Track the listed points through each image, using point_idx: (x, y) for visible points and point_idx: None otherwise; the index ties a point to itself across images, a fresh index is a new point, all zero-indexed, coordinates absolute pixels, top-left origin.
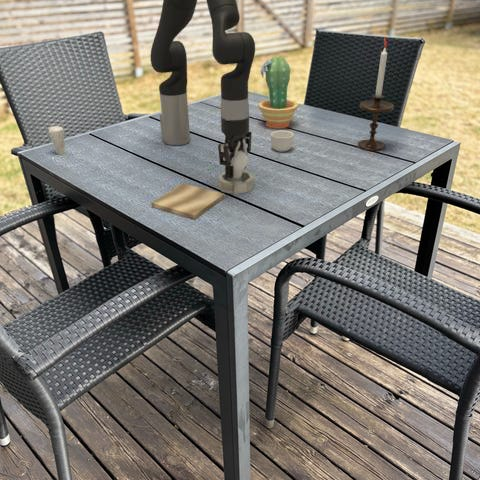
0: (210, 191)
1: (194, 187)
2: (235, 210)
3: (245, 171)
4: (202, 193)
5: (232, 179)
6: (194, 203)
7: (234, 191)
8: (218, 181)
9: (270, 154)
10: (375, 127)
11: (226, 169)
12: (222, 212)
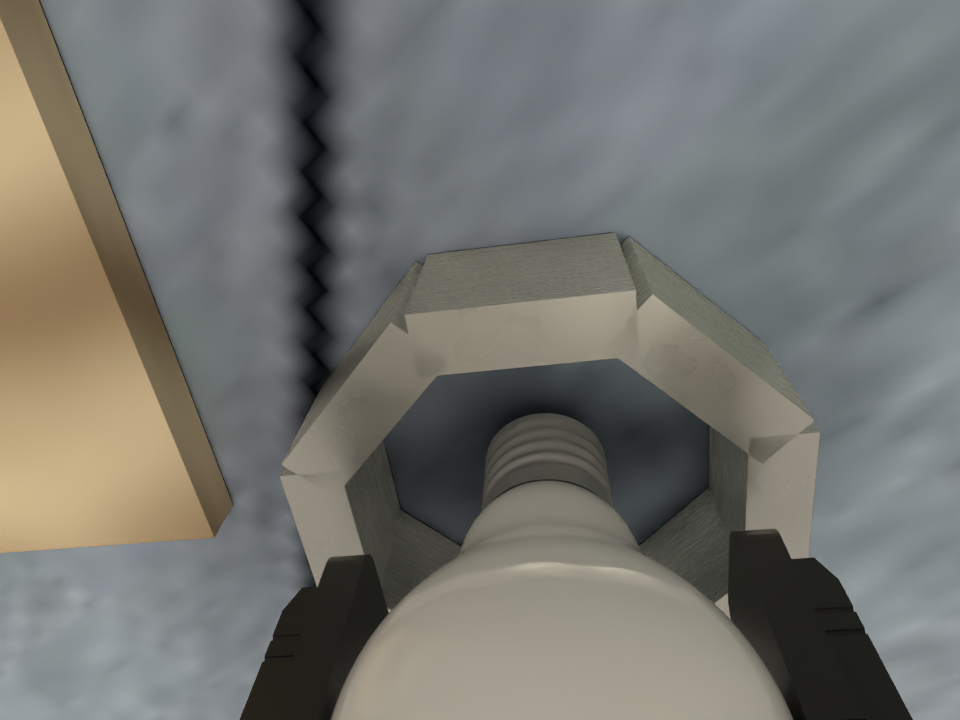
0: (126, 391)
1: (9, 132)
2: (150, 681)
3: (784, 537)
4: (10, 350)
5: (486, 500)
6: None
7: None
8: (381, 320)
9: None
10: None
11: (259, 709)
12: (38, 631)
